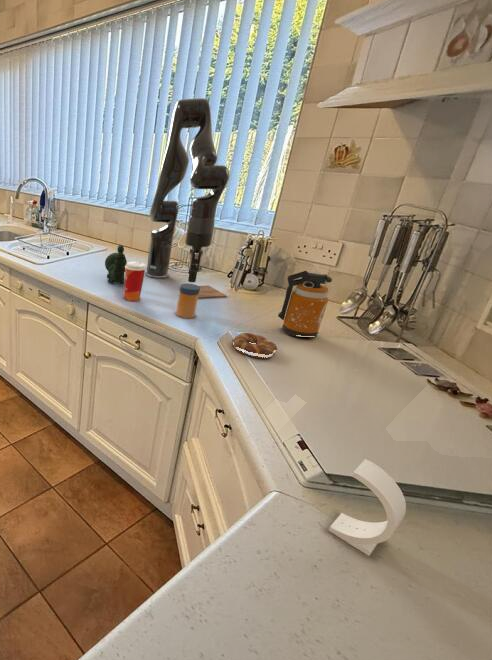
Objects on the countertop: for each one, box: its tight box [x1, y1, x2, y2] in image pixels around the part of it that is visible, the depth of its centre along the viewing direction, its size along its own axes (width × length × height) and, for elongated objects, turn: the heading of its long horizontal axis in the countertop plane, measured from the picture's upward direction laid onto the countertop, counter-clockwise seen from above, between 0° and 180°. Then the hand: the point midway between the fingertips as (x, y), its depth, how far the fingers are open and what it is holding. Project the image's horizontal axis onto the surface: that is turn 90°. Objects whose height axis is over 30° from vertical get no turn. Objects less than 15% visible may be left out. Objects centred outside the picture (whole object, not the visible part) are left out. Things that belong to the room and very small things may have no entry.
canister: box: [277, 270, 333, 339], centre depth 120 cm, size 9×11×20 cm
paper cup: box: [123, 261, 147, 302], centre depth 151 cm, size 8×8×14 cm
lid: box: [178, 283, 200, 295], centre depth 135 cm, size 6×6×2 cm
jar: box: [175, 291, 199, 319], centre depth 136 cm, size 6×6×10 cm
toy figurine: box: [104, 244, 128, 286], centre depth 171 cm, size 9×19×25 cm
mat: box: [198, 285, 227, 299], centre depth 158 cm, size 12×12×1 cm
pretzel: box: [231, 332, 278, 360], centre depth 114 cm, size 12×11×4 cm
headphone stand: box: [328, 458, 407, 557], centre depth 58 cm, size 5×6×12 cm
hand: (191, 278), depth 133 cm, fingers open, 8 cm apart
